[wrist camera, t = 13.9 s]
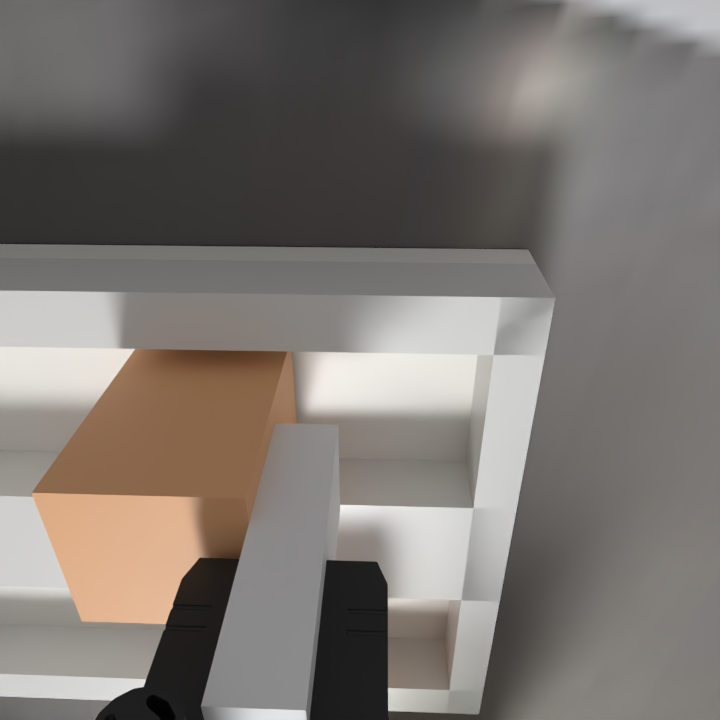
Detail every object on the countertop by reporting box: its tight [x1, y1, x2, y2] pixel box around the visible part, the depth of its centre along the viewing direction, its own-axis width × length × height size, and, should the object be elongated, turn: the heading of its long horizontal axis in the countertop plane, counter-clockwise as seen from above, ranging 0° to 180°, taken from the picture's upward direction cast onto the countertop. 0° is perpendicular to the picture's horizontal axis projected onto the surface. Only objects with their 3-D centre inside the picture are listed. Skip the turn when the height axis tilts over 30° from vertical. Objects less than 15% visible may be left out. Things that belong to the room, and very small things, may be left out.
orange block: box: [32, 349, 297, 624], centre depth 14 cm, size 4×4×6 cm
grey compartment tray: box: [0, 244, 555, 714], centre depth 19 cm, size 22×17×3 cm
